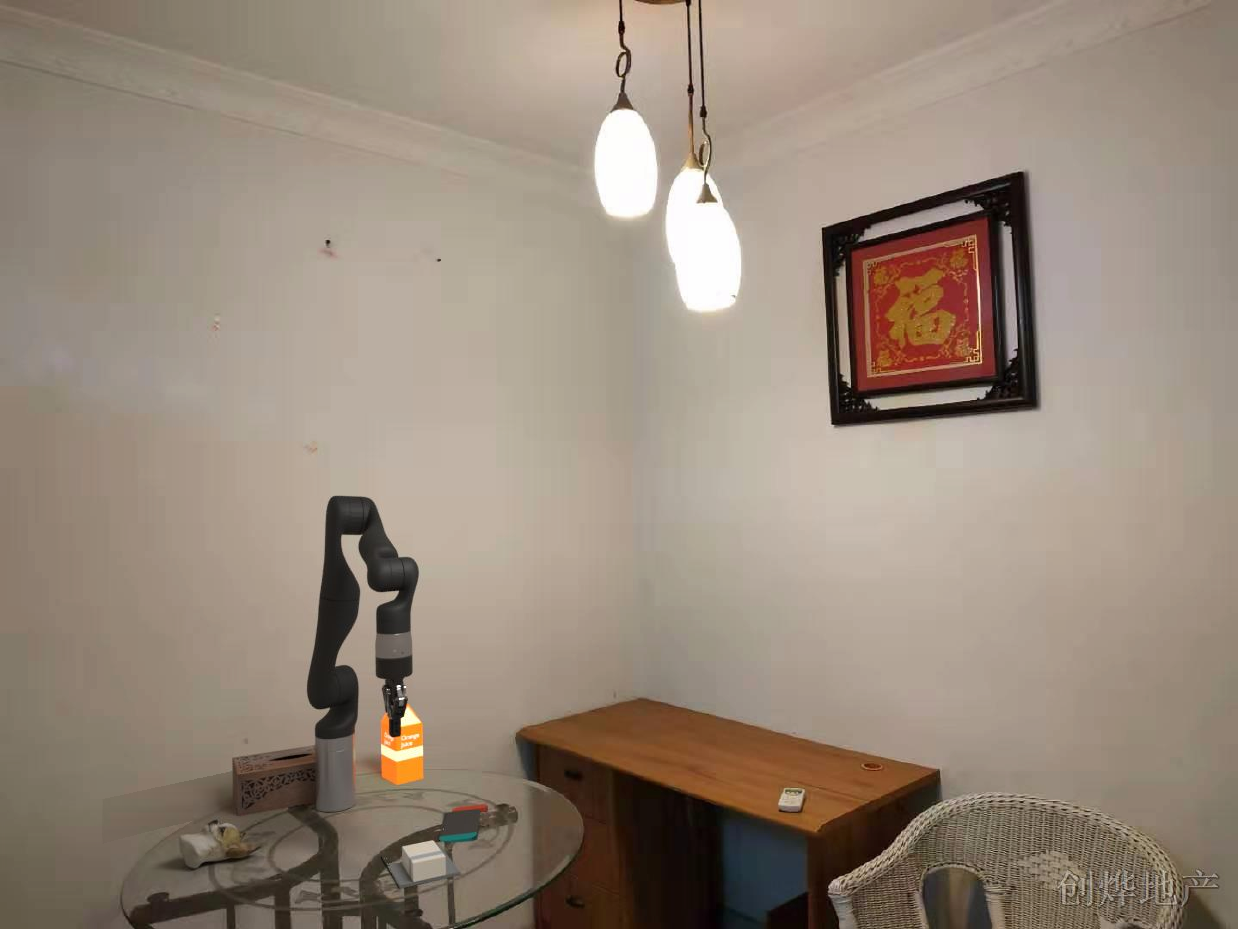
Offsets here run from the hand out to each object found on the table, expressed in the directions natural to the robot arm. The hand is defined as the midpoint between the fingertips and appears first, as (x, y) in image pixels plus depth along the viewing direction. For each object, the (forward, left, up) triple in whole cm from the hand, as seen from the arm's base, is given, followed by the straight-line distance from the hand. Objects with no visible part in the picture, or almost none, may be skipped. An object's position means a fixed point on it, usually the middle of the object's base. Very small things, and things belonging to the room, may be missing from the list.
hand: (395, 736), depth 187 cm
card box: (+6, +3, -23) cm, 24 cm away
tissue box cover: (-48, -15, -26) cm, 56 cm away
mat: (+7, +3, -25) cm, 26 cm away
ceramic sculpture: (-17, -33, -25) cm, 45 cm away
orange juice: (-48, +13, -25) cm, 56 cm away
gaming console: (-9, +18, -26) cm, 32 cm away
